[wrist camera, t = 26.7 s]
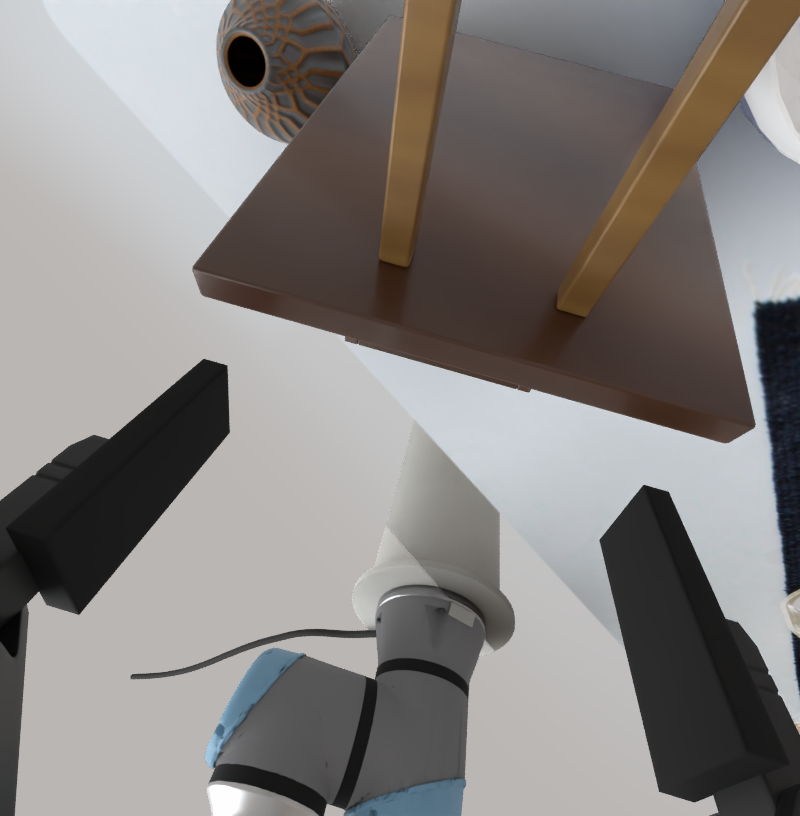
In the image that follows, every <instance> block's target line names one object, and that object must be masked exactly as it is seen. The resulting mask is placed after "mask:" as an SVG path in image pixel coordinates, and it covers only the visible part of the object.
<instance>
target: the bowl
mask: <svg viewBox="0 0 800 816" xmlns="http://www.w3.org/2000/svg"><path fill="white" fill-rule="evenodd" d="M739 103H740V105H741V107H742V109H743V111H744V113H745V116H746V117H747V118H748V119H749V120H750V122H751V123H752V124H753V125H754V126H755V127H756V128H757V130H758V131H759V132H760V133H761V134H762V135H763V136H764V138H766V139H767V140H768V141H769V142H770V143H772V144H773V145H774V146H775V147H776V148H777V149H778V150H779V152H780V153H782V154H783V155H785V156H787V157H788V158H790V159H791V160H793V161H795V162H796V163H798V164H800V17H799V18H798V19H797V21H796V22H795V24H794V25H793V26H792V28H791V29H790V31H789V32H788V34H787V35H786V36H785V38H784V39H783V41H782V42H781V43H780V45H779V46H778V48H777V49H776V50H775V52H774V53H773V55H772V56H771V58H770V59H769V60H768V62H767V63H766V65H765V66H764V67H763V69H762V70H761V72H760V73H759V74H758V76H757V77H756V79H755V80H754V81H753V83H752V84H751V86H750V87H749V89H748V90H747V91H746V93H745V94H744V96H743V97H742V98H741V100H740V101H739Z"/></svg>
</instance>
